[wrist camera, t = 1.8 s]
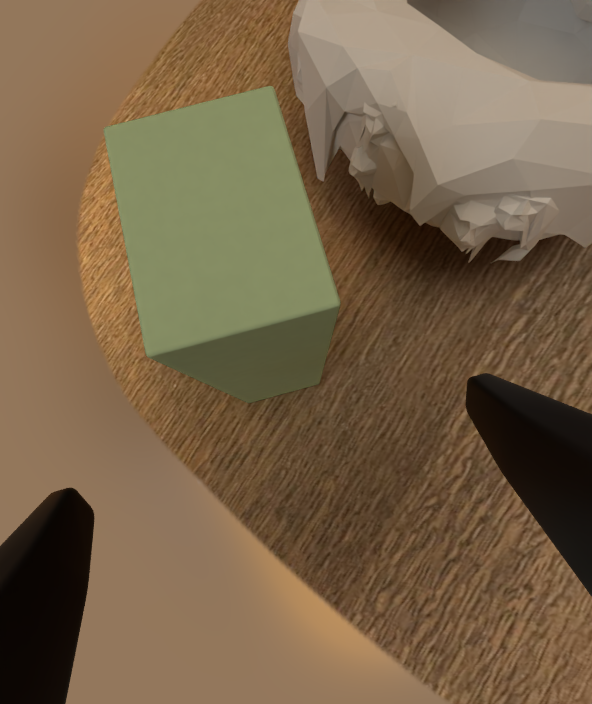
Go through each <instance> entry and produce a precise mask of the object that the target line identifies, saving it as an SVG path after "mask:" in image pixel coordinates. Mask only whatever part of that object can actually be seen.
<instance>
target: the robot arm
mask: <svg viewBox="0 0 592 704" xmlns="http://www.w3.org/2000/svg"><path fill="white" fill-rule="evenodd" d="M466 409H467V412H468V414H469V416H470V418H471V420H472V421H473V423H474V425H475V427H476V428H477V430H478V432H479V434H480V435H481V437H482V439H483V441H484V442H485V444H486V446H487V448H488V449H489V451H490V453H491V455H492V456H493V458H494V460H495V462H496V463H497V465H498V467H499V468H500V470H501V472H502V473H503V475H504V476H505V477H506V479H507V480H508V482H509V483H510V485H511V486H512V487H513V489H514V490H515V492H516V493H517V494H518V496H519V497H520V498H521V500H522V501H523V503H524V504H525V505H526V507H527V508H528V509H529V511H530V512H531V514H532V515H533V516H534V518H535V519H536V520H537V522H538V523H539V525H540V526H541V527H542V529H543V530H544V531H545V533H546V534H547V536H548V537H549V538H550V540H551V541H552V543H553V544H554V545H555V547H556V548H557V549H558V551H559V552H560V554H561V555H562V556H563V558H564V559H565V560H566V562H567V563H568V565H569V566H570V567H571V569H572V570H573V571H574V573H575V574H576V576H577V577H578V578H579V580H580V581H581V582H582V584H583V585H584V587H585V588H586V589H587V591H588V592H589V594H590V595H591V596H592V414H589V413H587V412H584V411H582V410H579V409H577V408H574V407H572V406H569V405H567V404H564V403H562V402H559V401H557V400H554V399H551V398H549V397H546V396H544V395H541V394H539V393H536V392H534V391H531V390H529V389H526V388H524V387H521V386H519V385H516V384H514V383H511V382H509V381H506V380H504V379H501V378H499V377H496V376H494V375H491V374H487V373H485V374H481V375H477V376H473V377H471V378H469V379H468V381H467V392H466ZM93 529H94V513H93V510H92V508H91V506H90V505H89V504H88V503H87V502H86V501H85V499H84V498H83V497H82V496H81V495H80V494H79V493H78V491H77V490H75V489H73V488H66V489H63V490H59V491H56V492H53V493H51V494H50V495H49V496H48V497H47V498H46V499H45V500H44V501H43V502H42V503H41V504H40V505H39V506H38V507H37V508H36V509H35V510H34V511H33V512H32V513H31V515H30V516H29V517H28V518H27V519H26V520H25V521H24V522H23V523H22V524H21V525H20V526H19V527H18V528H17V529H16V530H15V531H14V532H13V533H12V534H11V535H10V536H9V538H8V539H7V540H6V541H5V542H4V543H3V544H2V545H1V546H0V704H65V703H66V698H67V693H68V688H69V682H70V677H71V672H72V667H73V662H74V657H75V652H76V647H77V642H78V636H79V632H80V627H81V621H82V616H83V611H84V606H85V601H86V595H87V589H88V581H89V572H90V571H89V570H90V560H91V550H92V540H93Z"/></svg>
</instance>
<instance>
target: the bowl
mask: <svg viewBox="0 0 592 704" xmlns="http://www.w3.org/2000/svg"><path fill="white" fill-rule="evenodd" d="M288 47H289V54H290V61H291V67H292V74H293V80H294V87H295V91H296V96H297V97H298V98H299V99H300V101H301V102H302V103H303V104H304V107H305V115H306V121H307V126H308V131H309V136H310V142H311V147H312V152H313V157H314V163H315V168H316V173H317V178H318V179H319V180H322V181H324V178H325V173H326V171H327V169H328V168H329V166H330V164H331V162H332V160H333V158H334V156H335V154H336V153H337V151H338V149H341V150H342V151H343V152H344V153H345V155H346V156H347V157H348V158H349V160H350V161H351V162H350V166H349V174H350V175H352V176H354V177H355V178H356V180H357V181H358V182H359V185H360V188H361V191H362V190H363V188H364V187H365V190H366V193H367V196H368V198H369V194H370V191H371V188H372V189H374V196H373V198H374V200H375V201H376V203H377V205H383V204H386V203H389V202H392V203H394V204H395V205H396V206H398V207H399V208H401V209H402V210H403V211H405V212H407V213H409V214H411V215H412V217H413V218H414V219H415V221H416V222H417V223H418V224H419V226H421V225H422V224H424V223H425V222H426V223H427V224H429V225H431V226H434V227H439V228H440V230H441V231H442V232H443V233H444V234H445V235H446V236H447V237H448V238H449V239H450V240H451V241H452V242H453V243H454V244H455V245H456V246H457V247H458V248H459V249H460V250H461V252H463V251H464V250H466V249H467V248H468V250H467V252H466V254H467V253H468V252H469V251H470V250H471V249H472V252H471V256H470V259H469V262H470V261H471V260H472V259H473V258H474V257H475V255H476V254H477V253H478V252H479V250H480V249H481V248H482V247H483V245H484V244H485V243H486V242H487V241H488V240H489V239H490V238H491V237H497V238H502V239H508V240H520V244H518V245H513V246H512V247H511V248H509V249H508V250H507V251H506V252H504V253H503V254H502V255H501V256H499V257H498V258H497V259H496V260H494V261H493V262H495V261H497V260H511V261H520V260H521V259H522V258H523V257H524V256H525V255H526V254H527V253H528V252H529V251H530V250H531V249H532V248H533V247H534V246H535V245H536V244H537V242H538V241H539V240H541V239H544V238H548V237H552V236H555V235H559V234H562V235H566V236H567V237H569V238H571V239H572V240H574V241H575V242H577V243H578V244H580V245H581V246H583V247H584V248H586V247H587V246H589V245H591V244H592V0H299V1H298V4H297V6H296V8H295V10H294V12H293V17H292V23H291V28H290V34H289V40H288ZM469 262H468V263H469ZM493 262H492V263H493Z"/></svg>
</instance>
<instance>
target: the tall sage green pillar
mask: <svg viewBox="0 0 592 704" xmlns="http://www.w3.org/2000/svg"><path fill="white" fill-rule="evenodd" d="M104 135H105V141H106V146H107V151H108V157H109V162H110V167H111V172H112V178H113V183H114V188H115V194H116V199H117V204H118V210H119V215H120V220H121V225H122V231H123V236H124V241H125V247H126V252H127V257H128V262H129V268H130V273H131V278H132V284H133V289H134V294H135V300H136V305H137V310H138V315H139V321H140V326H141V331H142V337H143V342H144V347H145V353H146V355H147V357H149V358H151V359H153V360H155V361H157V362H160V363H162V364H164V365H166V366H168V367H171V368H173V369H175V370H177V371H179V372H181V373H184V374H186V375H188V376H190V377H192V378H195V379H197V380H199V381H201V382H203V383H205V384H208V385H210V386H212V387H214V388H216V389H219V390H221V391H223V392H225V393H227V394H229V395H232V396H234V397H236V398H238V399H240V400H242V401H245V402H247V403H252V402H255V401H259V400H263V399H266V398H270V397H274V396H277V395H281V394H285V393H288V392H292V391H296V390H299V389H303V388H307V387H310V386H314V385H318V384H319V383H320V380H321V376H322V372H323V368H324V365H325V361H326V357H327V353H328V350H329V346H330V342H331V338H332V335H333V331H334V327H335V323H336V320H337V316H338V312H339V308H340V303H341V302H340V299H339V295H338V292H337V289H336V286H335V283H334V279H333V276H332V273H331V270H330V266H329V263H328V260H327V257H326V254H325V250H324V247H323V244H322V241H321V237H320V234H319V231H318V228H317V225H316V221H315V218H314V215H313V212H312V208H311V205H310V202H309V199H308V196H307V192H306V189H305V186H304V183H303V179H302V176H301V173H300V170H299V167H298V163H297V160H296V157H295V154H294V150H293V147H292V144H291V141H290V138H289V134H288V131H287V128H286V125H285V121H284V118H283V115H282V112H281V109H280V105H279V102H278V99H277V96H276V92H275V90H274V88H273V87H272V86H267V87H263V88H259V89H255V90H251V91H247V92H243V93H239V94H235V95H231V96H227V97H223V98H219V99H215V100H211V101H207V102H203V103H199V104H195V105H191V106H187V107H183V108H179V109H175V110H171V111H167V112H163V113H159V114H155V115H151V116H147V117H143V118H139V119H135V120H131V121H127V122H123V123H119V124H115V125H111V126H108V127H105V128H104Z"/></svg>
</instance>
